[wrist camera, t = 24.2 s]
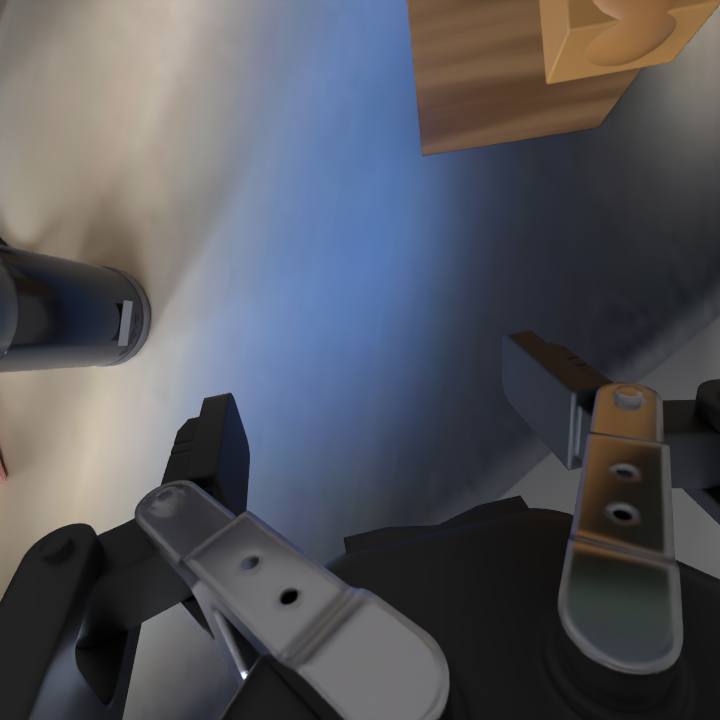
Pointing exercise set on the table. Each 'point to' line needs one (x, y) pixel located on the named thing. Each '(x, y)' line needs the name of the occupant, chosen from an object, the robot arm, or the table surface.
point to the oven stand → (495, 77)
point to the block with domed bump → (616, 34)
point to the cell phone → (2, 473)
